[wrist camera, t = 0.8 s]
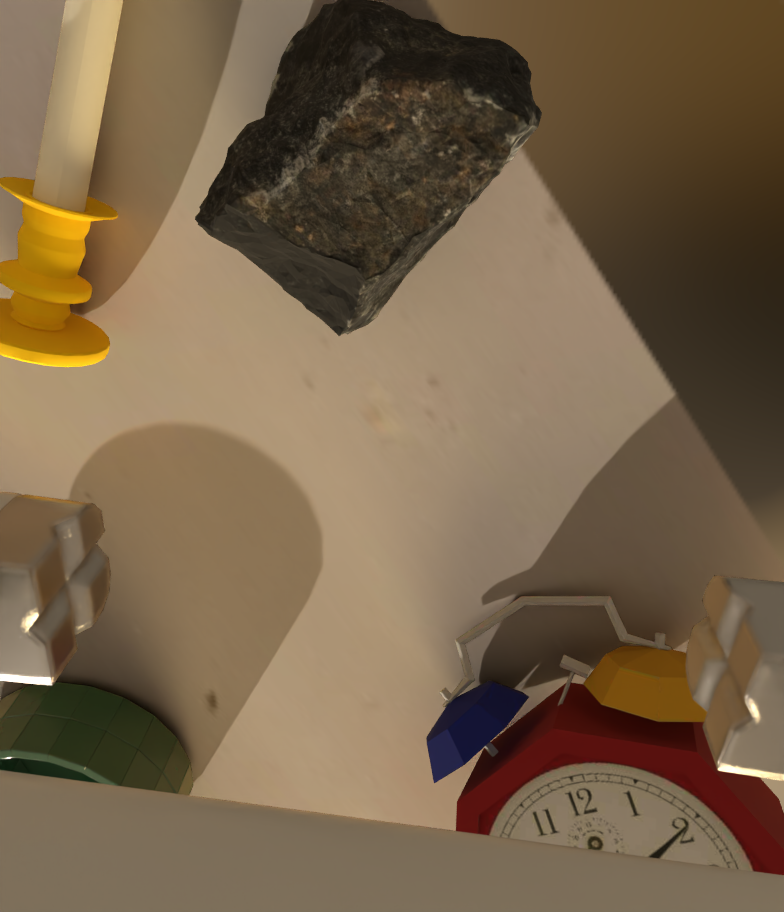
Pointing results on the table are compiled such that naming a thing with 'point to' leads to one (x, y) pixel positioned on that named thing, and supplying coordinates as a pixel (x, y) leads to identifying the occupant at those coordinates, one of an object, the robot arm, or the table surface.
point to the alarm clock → (604, 761)
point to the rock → (367, 154)
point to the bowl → (90, 739)
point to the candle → (61, 202)
